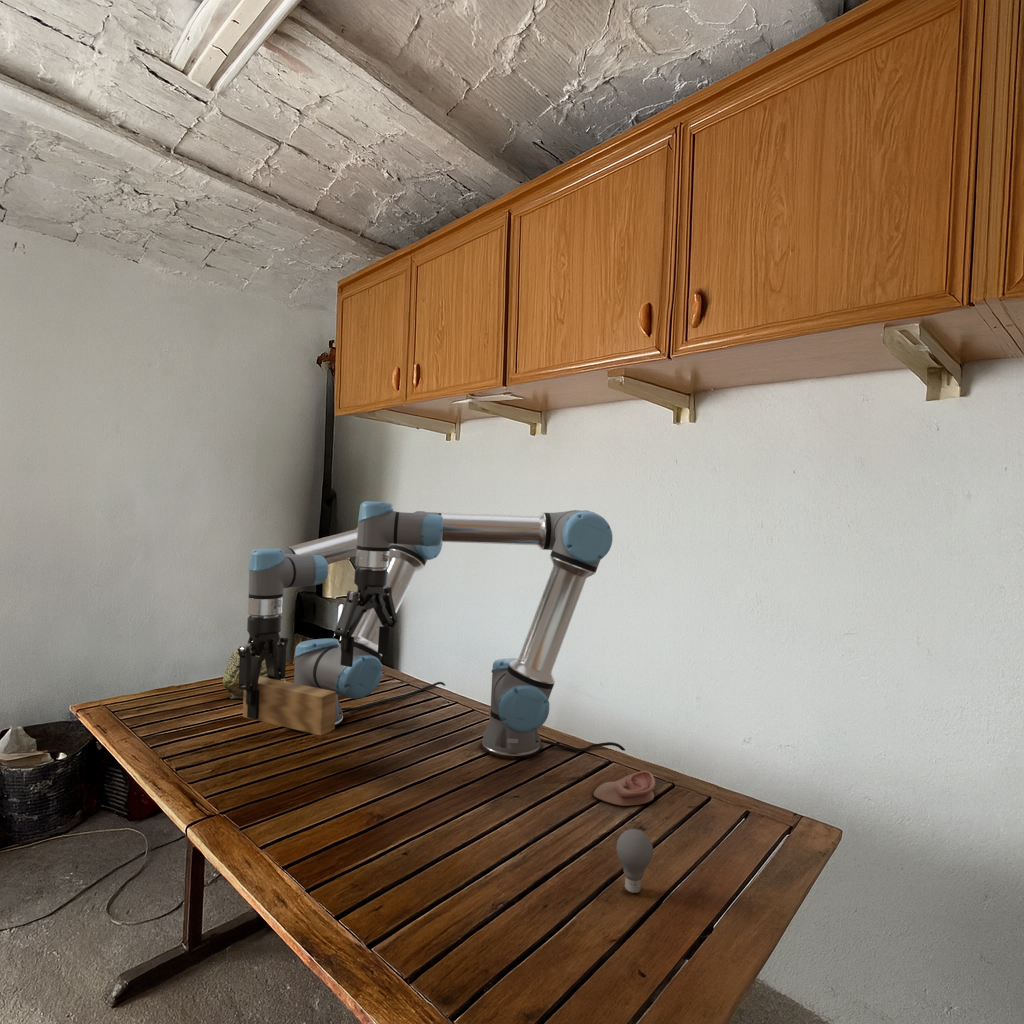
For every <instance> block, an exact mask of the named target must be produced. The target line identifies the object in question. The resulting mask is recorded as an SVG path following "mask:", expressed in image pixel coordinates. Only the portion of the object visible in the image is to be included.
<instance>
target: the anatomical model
mask: <svg viewBox="0 0 1024 1024" xmlns="http://www.w3.org/2000/svg"><path fill="white" fill-rule="evenodd" d="M655 787H656V779H655V776H654V775H653V774H652V772H651V771H648V770H641V771H636V772H634V773H631V774H629V775H626V776H624V777H623V778H620V779H618V780H615V781H606V782H604V783H601V784H600V785H599V786H597V787H596V788H595V789H594V792H593V797H595V798H596V799H598V800H600V801H603V802H606V803H608V804H612V805H616V806H621V807H627V806H638V805H643V804H647V803H650V802H651V801H653V800H654V798H655V793H654V791H653V790H654V789H655Z"/></svg>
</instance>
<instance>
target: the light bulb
mask: <svg viewBox="0 0 1024 1024" xmlns="http://www.w3.org/2000/svg"><path fill="white" fill-rule="evenodd" d="M615 849H616V854H617V857H618V859H619V861H620V863H621V865H622V867H623V873H624V874H623V875H624V876H625V878H624V888H625V890H627V891H628V892H630V893H634V894H635V893H639V892H640V891H641V889H642V887H641V886H642V879H643V877H644V875H645V871H646V868H647V867H648V866H649V864H650V863H651V861H652V859H653V855H654V847H653V843H652V841H651V838H649V836H648V835H647V834H646V833H645V832H643V831H642V830H641V829H636V828H629V829H627V830H625V831H623V832H622V833H621V834H620V835H619V837H618V839H617V841H616V847H615Z"/></svg>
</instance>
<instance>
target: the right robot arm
mask: <svg viewBox="0 0 1024 1024" xmlns="http://www.w3.org/2000/svg"><path fill="white" fill-rule="evenodd" d="M357 527H358V533H357V549H356V556H355V561H354V565H355V566H356V567H357V568H355V569H354V580H353V583H354V584H355V585H356V586H357V587H356V588H357V589H356V591H352V590H348V591H347V593H346V598H345V602H344V605H343V608H342V611H341V614H340V616H339V619H338V621H337V624H336V626H335V629H334V635H337V636H339V637H340V639H341V640H340V643H341V664H340V665H343V666H348V667H352V665H353V650H354V637H351V636H352V635H353V633H354V631H355V629H356V627H357V625H358V623H359V622H360V620H361V618H362V616H363V614H364V613H365V612H367V610H369V609H372V608H374V610H375V612H376V614H377V616H378V618H379V620H380V622H381V624H382V625H383V626H380V627H379V640H378V654H382V656H383V655H384V656H389V655H390V641H391V634H392V628H395V627H396V625H397V623H398V617H397V613H396V612H395V608H394V603H393V599H392V588H391V587H386V585H387V581H388V571H387V570H386V568H387V567H388V564H389V550H390V544H406V545H419V546H426V547H428V546H440V545H441V543H442V542H443V543H452V544H453V543H455V544H479V545H480V544H483V545H509V546H510V545H512V546H536V547H538V548H539V549H540V550H543V551H550V554H549V558H550V561H551V563H552V567H551V570H550V573H549V575H548V578H547V581H546V584H545V586H544V588H543V591H542V594H541V597H540V599H539V602H538V605H537V607H536V610H535V613H534V615H533V617H532V621H531V623H530V626H529V629H528V631H527V634H526V637H525V640H524V642H523V645H522V648H521V649H520V652H519V656H518V658H509V657H508V658H499V659H495V660H494V661H493V662H492V669H491V690H490V691H491V692H490V713H489V714H490V716H489V720H488V722H487V725H486V728H485V730H484V733H483V737H482V741H481V748H482V750H483V752H485V753H486V754H488V755H490V756H492V757H496V758H499V759H507V760H523V759H528V758H532V757H535V756H536V755H538V754H539V753H540V752H541V748H542V747H541V746H542V745H541V744H542V743H543V744H547V745H550V746H554V747H557V748H560V749H565V750H568V751H573V752H580V753H581V752H587V751H589V750H591V749H594V748H601V747H608V746H612V747H616V748H619V749H620V750H621V751H626V748H625V747H624V746H623V745H621V744H619V743H618V742H613V741H611V742H610V741H607V742H601V743H592V744H590V745H588V746H586V747H580V748H579V747H572V746H569V745H565V744H561V743H558V742H554V741H551V740H546V739H543V738H541V737H540V734H539V733H540V732H539V730H538V729H540V728H541V727H542V726H543V725H544V724H545V723H546V721H547V719H548V717H549V714H550V701H549V700H550V697H551V693H552V691H553V689H554V686H555V683H556V680H555V678H554V675H553V670H554V668H555V665H556V662H557V659H558V657H559V655H560V652H561V649H562V646H563V643H564V641H565V637H566V636H567V632H568V630H569V627H570V624H571V622H572V619H573V617H574V615H575V612H576V608H577V606H578V603H579V600H580V598H581V594H582V592H583V591H584V587H585V585H586V581H587V579H588V578H589V577H592V576H593V575H596V572H597V570H598V568H599V565H600V562H601V560H602V559H604V558H606V556H607V555H608V553H610V551H611V548H612V545H613V537H614V536H613V531H612V528H611V526H610V524H609V522H608V521H607V520H606V519H605V517H603V516H601V515H600V514H598V513H596V512H594V511H590V510H588V509H587V510H586V509H585V510H579V509H573V510H566V511H558V512H541V513H540V514H539V515H517V514H516V515H514V514H512V515H511V514H487V513H485V514H483V513H460V512H459V513H457V512H435V511H434V512H433V511H432V512H430V511H429V512H428V511H421V510H418V511H414V512H401V511H397V510H396V511H395V510H394V508H393V504H392V503H391V502H383V501H371V500H370V501H369V500H365V501H362V503H360V505H359V512H358V519H357ZM443 543H442V544H443ZM391 617H392V618H391Z"/></svg>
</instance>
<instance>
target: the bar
mask: <svg viewBox="0 0 1024 1024" xmlns="http://www.w3.org/2000/svg"><path fill="white" fill-rule="evenodd" d="M251 685H252V684H251ZM256 690H259V717H258V719H252V718H248V717H247V707H248V705H247V704H246V690H244V694H243V698H242V701H243V702H242V718H245V719H249V720H254V721H257V722H263V723H266V724H270V725H274V726H279V727H283V728H287V729H289V728H291V729H290V730H292V729H295V730H299V731H298V732H301V731H304V732H303V733H307V734H312V735H317V736H323V735H326V734H327V733H330V732H331V731H335V729H336V727H335V705H336V692H335V691H330V690H325V689H320V688H315V687H310V686H305V685H300V684H295V683H294V682H290V681H286V682H285V681H280V680H275V679H270V678H265V677H260V676H259V680H258V685H257V689H256ZM295 730H294V731H295Z"/></svg>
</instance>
